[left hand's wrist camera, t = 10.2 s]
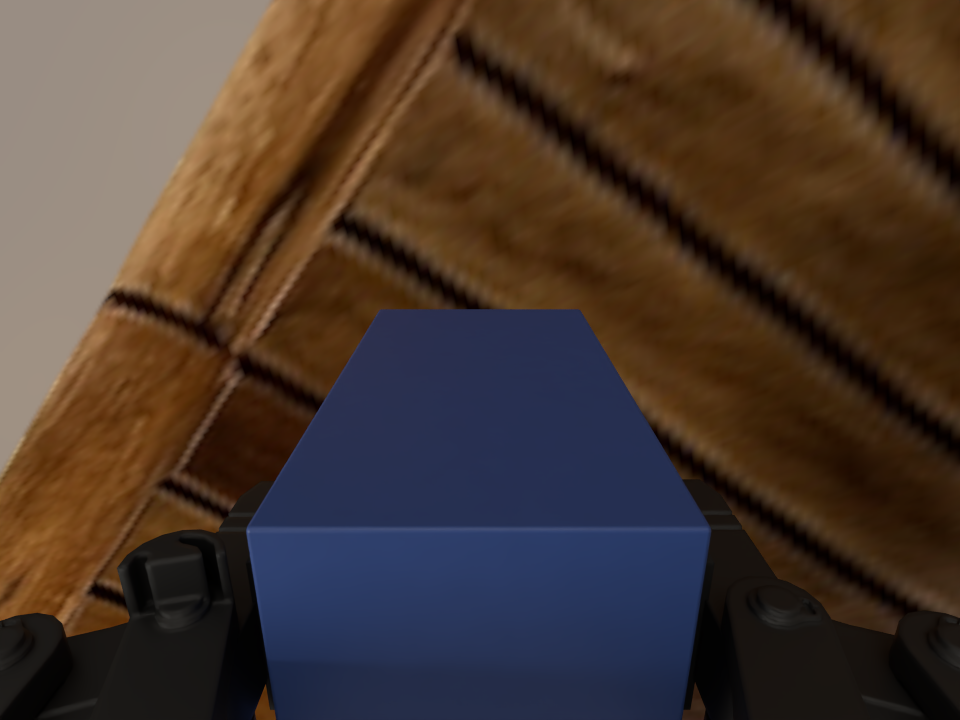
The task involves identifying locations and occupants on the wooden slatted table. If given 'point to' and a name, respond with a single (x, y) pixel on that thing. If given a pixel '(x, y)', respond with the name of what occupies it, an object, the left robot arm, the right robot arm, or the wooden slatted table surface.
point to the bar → (479, 534)
